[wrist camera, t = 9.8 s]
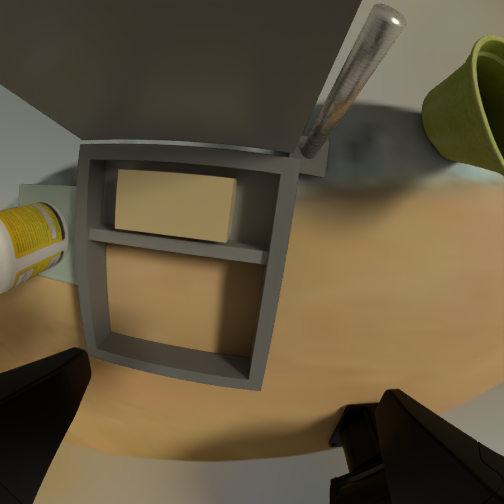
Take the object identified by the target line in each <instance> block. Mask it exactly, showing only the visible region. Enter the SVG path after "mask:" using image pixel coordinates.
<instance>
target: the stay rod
mask: <svg viewBox="0 0 504 504" xmlns="http://www.w3.org/2000/svg"><path fill="white" fill-rule="evenodd" d="M405 25H406V20H405V18H404V17H403V15H402V14H401V13H400V12H398V11H397V10H395V9H394V8H392V7H390V6H388V5H385V4H375V5H374V6H373V8H372V10H371V12H370V14H369V16H368V18H367V20H366V22H365V24H364V26H363V28H362V30H361V32H360V34H359V36H358V38H357V40H356V42H355V44H354V46H353V48H352V49H351V51H350V54H349V56H348V57H347V59H346V62H345V63H344V66H343V68H342V69H341V71H340V74H339V76H338V77H337V79H336V81H335V84H334V85H333V87H332V89H331V91H330V93H329V95H328V97H327V99H326V101H325V103H324V105H323V107H322V109H321V111H320V113H319V115H318V117H317V119H316V121H315V123H314V125H313V127H312V129H311V131H310V133H309V135H308V136H303V135H302V136H301V138H300V140H299V142H298V145H297V147H296V149H295V151H294V153H288V157H289V158H296V159H301V163H300V170H299V173H300V174H306V175H312V176H317V177H325V173H326V165H327V158H328V150H329V142H330V141H329V140H327V139H328V138H329V136H330V135H331V133H332V132H333V130H334V129H335V127H336V126H337V124H338V123H339V122H340V120H341V119H342V117H343V116H344V114H345V113H346V111H347V110H348V108H349V107H350V106H351V104H352V103H353V101H354V100H355V98H356V96H357V95H358V94H359V92H360V91H361V89H362V88H363V87H364V85H365V84H366V82H367V81H368V79H369V78H370V76H371V75H372V74H373V72H374V71H375V69H376V68H377V66H378V65H379V63H380V62H381V60H382V59H383V58H384V56H385V55H386V53H387V52H388V50H389V49H390V47H391V46H392V44H393V43H394V42H395V40H396V39H397V37H398V36H399V34H400V33H401V31H402V30H403V29H404V27H405Z"/></svg>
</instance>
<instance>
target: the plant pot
mask: <svg viewBox="0 0 504 504" xmlns="http://www.w3.org/2000/svg"><path fill="white" fill-rule="evenodd" d="M422 122H423V126H424V129H425V132H426V135H427V137H428V139H429V140H430V141H431V142H432V144H433V145H434V146H435V147H436V149H437V150H438V151H439V153H440V154H441V155H442V156H443V157H445V158H447V159H449V160H451V161H455V162H460V163H464V164H469V165H473V166H477V167H480V168H484V169H487V170H491V171H494V172H497V173H500V174H501V175H503V176H504V39H503V38H501V37H497V36H493V35H487V36H484V37H482V38H480V39H479V40H478V41H477V42H476V43H475V45H474V46H473V48H472V51H471V54H470V55H469V57H468V58H467V60H466V62H465V63H464V64H463V65H462V66H461V67H460V68H459V69H457V70H456V71H455V72H454V73H453V74H451V75H450V76H449V77H448V78H447V79H445V80H444V81H443V82H441V83H440V84H439V85H437V86H436V87H435V88H434V89H432V90H431V91H430V92H429V93H428V95H427V96H426V98H425V99H424V102H423V105H422Z"/></svg>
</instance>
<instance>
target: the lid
mask: <svg viewBox="0 0 504 504" xmlns="http://www.w3.org/2000/svg"><path fill="white" fill-rule="evenodd" d="M361 1H362V0H0V84H1V85H2V86H4V87H5V88H7V89H8V90H10V91H11V92H12V93H14V94H15V95H17V96H19V97H20V98H21V99H23V100H24V101H26V102H27V103H29V104H30V105H31V106H33V107H34V108H36V109H37V110H39V111H40V112H42V113H43V114H45V115H46V116H48V117H49V118H51V119H52V120H54V121H55V122H57V123H58V124H59V125H61V126H62V127H64V128H65V129H67V130H68V131H70V132H71V133H73V134H74V135H76V136H77V137H79V138H80V139H81V140H109V139H140V140H171V141H189V142H203V143H215V144H226V145H236V146H244V147H253V148H261V149H268V150H275V151H282V152H288V153H294V151H295V149H296V147H297V145H298V142H299V140H300V138H301V136H302V133H303V131H304V129H305V127H306V124H307V122H308V120H309V118H310V115H311V113H312V111H313V109H314V106H315V104H316V102H317V100H318V97H319V95H320V93H321V91H322V88H323V86H324V84H325V82H326V79H327V77H328V75H329V73H330V70H331V68H332V66H333V64H334V61H335V59H336V57H337V55H338V53H339V50H340V48H341V46H342V44H343V41H344V39H345V37H346V35H347V32H348V30H349V28H350V26H351V23H352V21H353V19H354V17H355V15H356V12H357V10H358V8H359V5H360V3H361Z"/></svg>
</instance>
